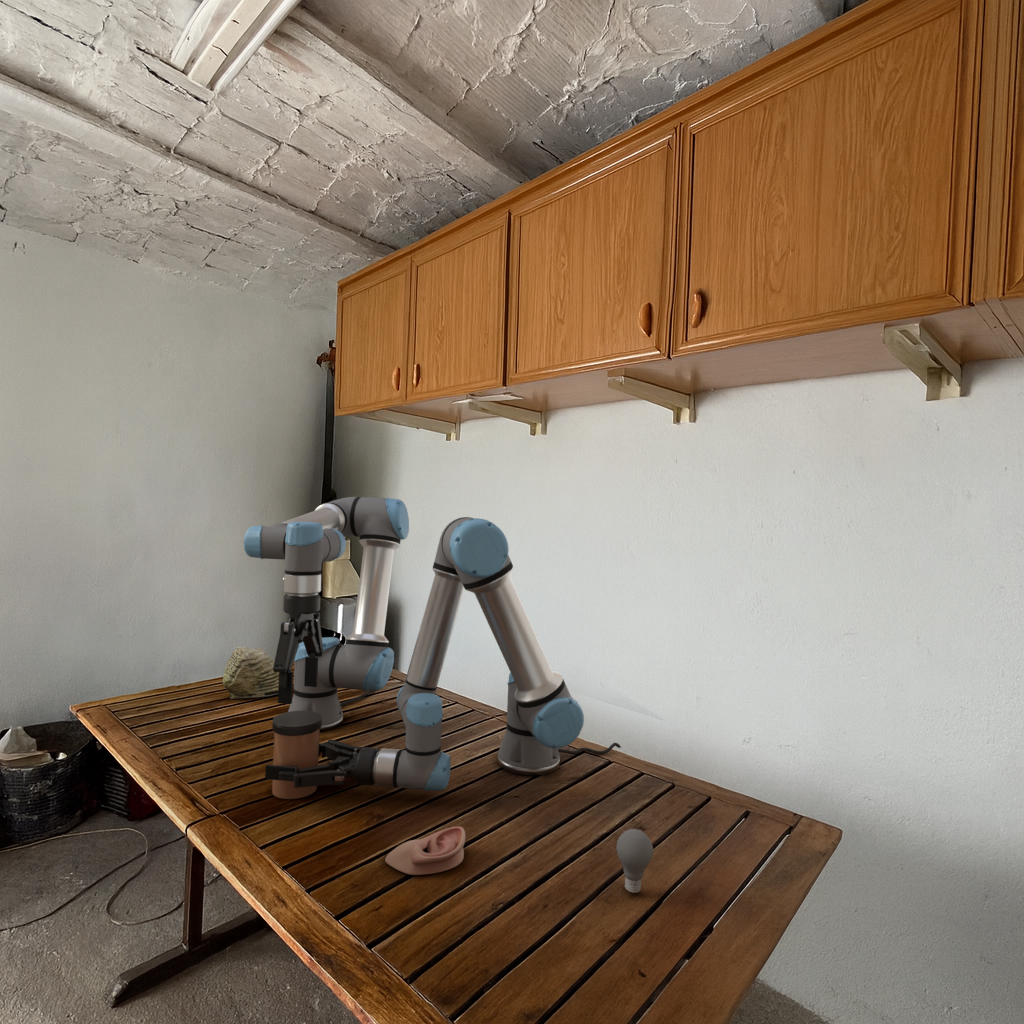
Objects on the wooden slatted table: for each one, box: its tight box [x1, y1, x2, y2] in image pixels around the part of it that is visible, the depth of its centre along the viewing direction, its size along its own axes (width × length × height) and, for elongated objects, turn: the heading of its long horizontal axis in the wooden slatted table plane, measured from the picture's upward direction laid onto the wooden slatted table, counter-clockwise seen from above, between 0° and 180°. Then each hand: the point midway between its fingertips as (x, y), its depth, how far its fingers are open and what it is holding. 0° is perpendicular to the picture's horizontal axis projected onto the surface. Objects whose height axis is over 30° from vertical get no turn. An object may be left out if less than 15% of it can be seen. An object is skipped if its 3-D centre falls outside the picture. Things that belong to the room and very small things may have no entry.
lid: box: [271, 711, 322, 736], centre depth 137 cm, size 10×10×2 cm
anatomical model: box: [384, 826, 466, 876], centre depth 113 cm, size 13×4×12 cm
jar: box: [271, 729, 321, 800], centre depth 137 cm, size 9×9×15 cm
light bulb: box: [615, 828, 654, 894], centre depth 106 cm, size 6×6×10 cm
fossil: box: [222, 646, 279, 699], centre depth 198 cm, size 9×18×15 cm, turn 132°
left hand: (298, 694), depth 136 cm, fingers open, 11 cm apart
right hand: (279, 759), depth 137 cm, fingers open, 12 cm apart
